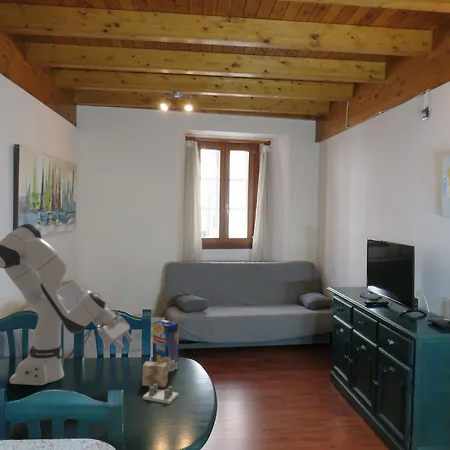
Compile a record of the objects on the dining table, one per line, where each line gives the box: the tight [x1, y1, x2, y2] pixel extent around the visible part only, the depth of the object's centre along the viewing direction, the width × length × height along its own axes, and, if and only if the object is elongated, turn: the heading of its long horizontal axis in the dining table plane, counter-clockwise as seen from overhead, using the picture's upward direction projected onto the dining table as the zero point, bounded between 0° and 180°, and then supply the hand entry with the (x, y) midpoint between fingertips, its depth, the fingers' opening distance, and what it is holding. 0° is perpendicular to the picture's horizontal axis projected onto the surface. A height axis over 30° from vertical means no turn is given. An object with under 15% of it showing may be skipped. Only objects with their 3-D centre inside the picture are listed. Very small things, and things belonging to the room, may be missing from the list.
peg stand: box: [142, 384, 179, 405], centre depth 176 cm, size 12×8×4 cm, turn 70°
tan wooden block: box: [142, 360, 169, 388], centre depth 190 cm, size 10×5×9 cm, turn 84°
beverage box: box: [152, 319, 180, 373], centre depth 209 cm, size 7×11×22 cm, turn 51°
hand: (127, 344), depth 189 cm, fingers open, 8 cm apart
